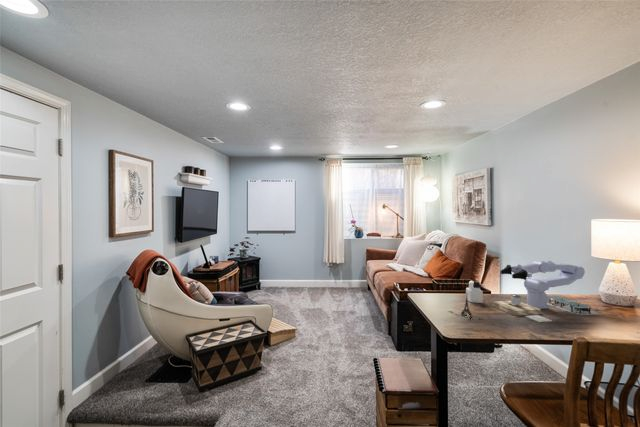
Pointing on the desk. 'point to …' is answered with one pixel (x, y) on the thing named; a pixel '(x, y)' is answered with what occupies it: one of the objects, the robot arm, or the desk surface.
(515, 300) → the end cover
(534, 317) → the mat
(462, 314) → the eiffel tower figurine
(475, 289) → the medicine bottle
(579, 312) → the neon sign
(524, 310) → the bore block
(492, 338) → the desk surface
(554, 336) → the desk surface
